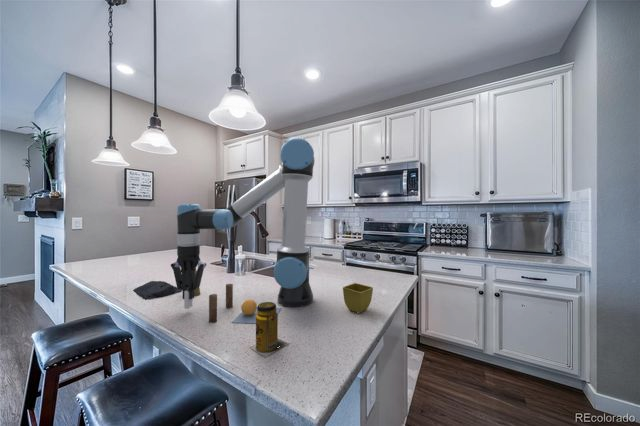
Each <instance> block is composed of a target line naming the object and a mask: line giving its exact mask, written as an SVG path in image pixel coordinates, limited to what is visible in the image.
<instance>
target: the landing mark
mask: <svg viewBox="0 0 640 426" xmlns="http://www.w3.org/2000/svg"><path fill="white" fill-rule="evenodd" d="M281 310H282V307H276V313H277V315H278V316H279V313H280V312H281ZM256 315H257V309H256V311H255V312H254V313H253V314H252V315H245V314H243V312H242V311H241V312H240V313H239V314H238V315H237V316H236V317H235V318H234V319H233V320H232V321H231V323H232V324H247V325H248V324H251V325H253V324H254V325H256Z"/></svg>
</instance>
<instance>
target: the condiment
mask: <svg viewBox="0 0 640 426" xmlns="http://www.w3.org/2000/svg"><path fill="white" fill-rule="evenodd" d="M276 308H277V304H276V302H275V303H274V302H272V301H265V302H261V303H259V304H258V305H257V315H256V324H255V344H253V345H251V346H249V348H250V349H252V350H253V351H255V352H256V353H258V354H260V355H261V356H263V357H265V358H267V357H268V356H270V355H272V354H273V353H275V352H277V351H279V350H280V349H282V348H285V347H286V346H287V345H289V344H290V343H289V342H286V341H284V340H283V339H280V338H278V329H279V327H278V322H279V321H278V320H279V319H278V318H279V317H278V316H279V314H278V315H277V313H276ZM279 346H280V347H279ZM277 347H279V348H277Z"/></svg>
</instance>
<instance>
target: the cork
mask: <svg viewBox="0 0 640 426" xmlns="http://www.w3.org/2000/svg"><path fill="white" fill-rule="evenodd" d="M196 273H197V269H196V271H195V277H196ZM200 295H201V289H200V287H199V288H197V289H195V290H194V298H195V297H197V296H200Z"/></svg>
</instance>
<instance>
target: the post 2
mask: <svg viewBox="0 0 640 426" xmlns="http://www.w3.org/2000/svg"><path fill="white" fill-rule="evenodd" d="M233 287H234V284H233V283H227V284H225V309H232V308H233V306H234V305H233V303H234V302H233V300H234V298H233V296H234V293H233V292H234V291H233V289H234V288H233Z"/></svg>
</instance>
